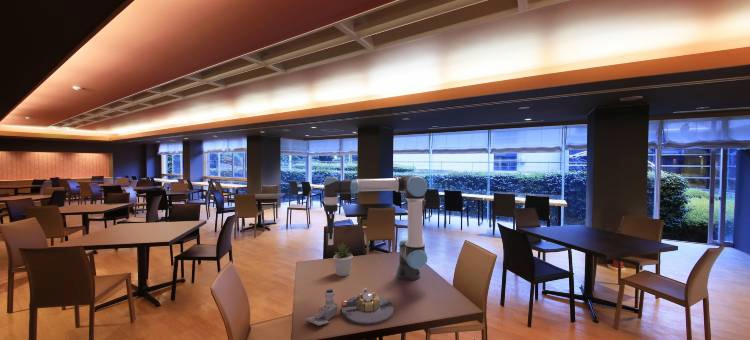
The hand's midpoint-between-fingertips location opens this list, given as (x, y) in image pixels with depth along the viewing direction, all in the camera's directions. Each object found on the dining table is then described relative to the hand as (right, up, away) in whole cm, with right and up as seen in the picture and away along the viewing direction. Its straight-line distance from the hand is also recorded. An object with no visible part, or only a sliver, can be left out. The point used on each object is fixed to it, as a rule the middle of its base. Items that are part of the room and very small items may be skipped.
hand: (331, 241), depth 163 cm
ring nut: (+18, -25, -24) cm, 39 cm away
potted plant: (+4, -28, +26) cm, 38 cm away
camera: (+1, -28, -31) cm, 42 cm away
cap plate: (+21, -28, -23) cm, 42 cm away
